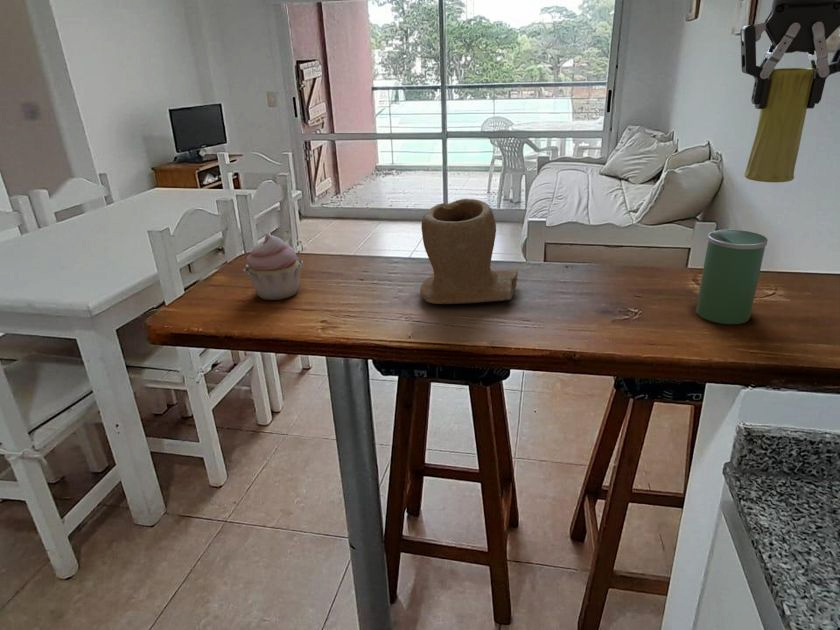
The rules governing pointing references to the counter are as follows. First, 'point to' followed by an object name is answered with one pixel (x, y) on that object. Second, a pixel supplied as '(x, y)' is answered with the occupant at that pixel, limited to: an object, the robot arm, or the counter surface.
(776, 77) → the vase
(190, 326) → the counter surface
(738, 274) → the green can
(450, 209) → the stone cup
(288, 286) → the cupcake
